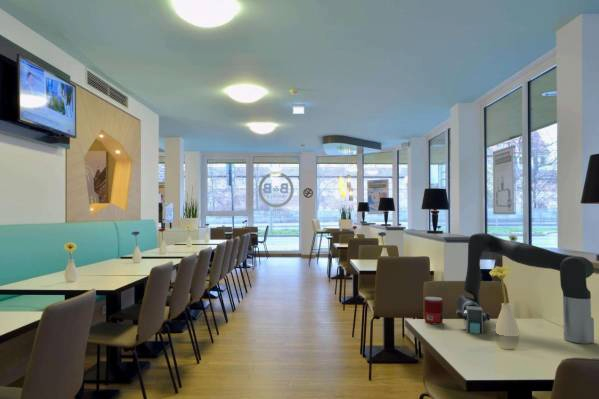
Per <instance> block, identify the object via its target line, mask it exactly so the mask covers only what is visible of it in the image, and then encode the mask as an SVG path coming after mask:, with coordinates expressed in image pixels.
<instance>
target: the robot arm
mask: <svg viewBox="0 0 599 399" xmlns="http://www.w3.org/2000/svg"><path fill="white" fill-rule="evenodd" d="M467 242H468V243H467V268H466V275H465V279H464V285H463V286H464V287H463V290H464V291H465V292H466V293H468V294H471V295H472V296H468V295H460V296H458V297H457V300H456V304H457V308H458V309H455V310H456V312H455V314H456V315H455V316H456V317H457V318H459V319H461V318H462V319H463V320H464V321H466V320H467V315H466V306H473V307H481V303H480V302H481V301H480V290H481V289H480V288H481V284H482V271H481V264H480V263H481V258H482V254H483V253H492V254H493V253H494V254H498V255H502V256H504V257H506V258H507V259H509V260H510V261H512V262H515V263H517V264H520V265H525V266H529V267H533V268H534V267H535V268H540V269H549V270H556V271H557V272H558V271H559V280H560V281H559V282H560V289H561V291H562V308H563V309H562V310H563V311H562V313H563V314H562V315H563V339H564V340H565V341H567V342H571V343H575V344H585V345H586V344H592V343H593V344H594V343H595V321H594V320H595V319H594V317H592V301H591V299H592V294H591V291H590V290H589V289H588V286H587V279H588V278H590V277H591V276H592V275H593V274H594V272H595V267H594V265H593V263H592V261H590V260H589V259H588V258H587V257H584V256H580V255H572V254H566V253H565V254H564V253H560V252H556V251H553V250H550V249H546V248H543V247H540V246H535V245H533V244H529V243H524V242H520V241H515V240H508V239H503V238H500V237H498V236H495V235H492V234H489V233H486V232H482V233H481V232H479V233H474V234H471V236H470V237H469V239H468V241H467ZM490 313H491V312H490V311H486V312H483V323H485V322H487V321H490V320H491V319H490V317H491V316H490V315H491V314H490Z"/></svg>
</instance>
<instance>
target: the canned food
mask: <svg viewBox="0 0 599 399" xmlns="http://www.w3.org/2000/svg"><path fill="white" fill-rule="evenodd" d="M423 301H424V322H425V323H427V322H428V323H427V324H431V323H441V324H443V316H444V314H443V311H444V310H443V309H444V308H443V302H444V301H443V298H442V297H437V296H425V297H424V300H423Z"/></svg>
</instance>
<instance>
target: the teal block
mask: <svg viewBox="0 0 599 399" xmlns="http://www.w3.org/2000/svg"><path fill="white" fill-rule="evenodd" d="M468 333H470V334H471V333H472V334H473V333H474V334H481V331H480V323H479V322H475V321H469V330H468Z"/></svg>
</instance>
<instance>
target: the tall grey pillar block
mask: <svg viewBox="0 0 599 399" xmlns="http://www.w3.org/2000/svg"><path fill="white" fill-rule="evenodd" d="M483 313H484V312H483V308H482V306H480V307H473V306H466V315H467V320H465V324H466V325H465V328H466V330H465V331H466V333H467V334H468V333H469V321H475V322H479V323H480V334H482V335H484V322H483Z"/></svg>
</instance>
